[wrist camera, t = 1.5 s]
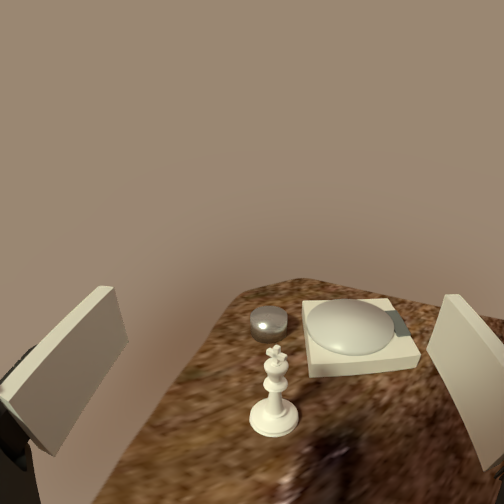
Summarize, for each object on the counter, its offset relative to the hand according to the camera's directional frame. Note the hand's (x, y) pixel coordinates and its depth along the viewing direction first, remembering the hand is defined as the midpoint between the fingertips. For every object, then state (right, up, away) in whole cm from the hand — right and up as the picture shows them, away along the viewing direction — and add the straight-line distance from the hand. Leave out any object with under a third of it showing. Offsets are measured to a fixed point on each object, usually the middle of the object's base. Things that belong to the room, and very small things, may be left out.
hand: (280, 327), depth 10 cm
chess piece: (+1, -14, +15) cm, 21 cm away
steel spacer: (+1, -9, +29) cm, 30 cm away
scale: (+13, -9, +26) cm, 31 cm away
